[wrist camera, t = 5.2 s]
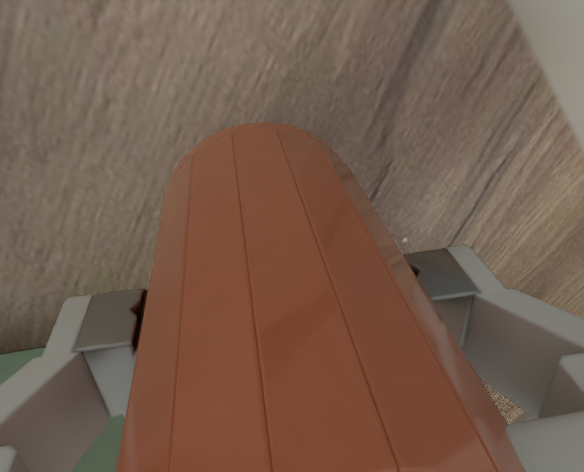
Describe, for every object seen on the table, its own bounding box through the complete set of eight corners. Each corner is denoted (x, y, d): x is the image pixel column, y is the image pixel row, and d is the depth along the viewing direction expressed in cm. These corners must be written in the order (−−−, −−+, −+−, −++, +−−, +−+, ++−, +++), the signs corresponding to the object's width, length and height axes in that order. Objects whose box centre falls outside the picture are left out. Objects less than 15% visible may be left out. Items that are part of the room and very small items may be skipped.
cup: (357, 110, 11) (636, 429, 4) (353, 277, 14) (510, 643, 7) (141, 132, 11) (-6, 545, 3) (182, 301, 14) (149, 724, 6)
